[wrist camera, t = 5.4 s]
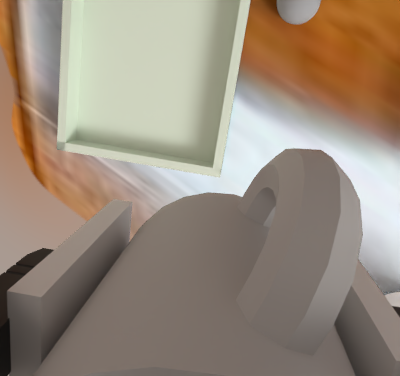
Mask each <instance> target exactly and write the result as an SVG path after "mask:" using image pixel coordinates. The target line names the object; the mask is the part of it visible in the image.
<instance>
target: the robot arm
mask: <svg viewBox="0 0 400 376" xmlns="http://www.w3.org/2000/svg"><path fill="white" fill-rule="evenodd" d="M131 213H132V202H129V201H122V200H116V199H113V200H112V201H111V202H110V203H108V204H107V205H106V206H105V207H104V208H103V209H101V210H100V211H99V212H98V213H97V214H96V215H94V216H93V217H92V218H91V219H90V220H89V221H88V222H86V223H85V224H84V225H83V226H82V227H81V228H79V229H78V230H77V231H76V232H75V233H74V234H73V235H71V236H70V237H69V238H68V239H67V240H66V241H64V242H63V243H62V244H61V245H60V246H58V248H56V249H55V250H51V249H45V248H42V249H40V250H37V251H35V252H32V253H30V254H27V255H26V256H25V257H23V258H22V259H21V260H20V261H18V262H17V263H16V265H13V266H12V267H11V268H9V269H8V270H7V271H6V273H5V272H4V273H3V274H1V275H0V376H8V374H9V376H33V374H34V373H35V372H36V370H37V369H38V368H39V366H40V365H41V363H42V362H43V361H44V359H45V358H46V357H47V355H48V354H49V352H50V351H51V350H52V348H53V347H54V346H55V344H56V343H57V341H58V340H59V339H60V337H61V336H62V334H63V333H64V332H65V330H66V329H67V328H68V326H69V325H70V323H71V322H72V321H73V319H74V318H75V317H76V315H77V314H78V312H79V311H80V310H81V308H82V307H83V306H84V304H85V303H86V301H87V300H88V299H89V297H90V296H91V295H92V293H93V292H94V290H95V289H96V288H97V286H98V285H99V284H100V282H101V281H102V279H103V278H104V277H105V275H106V274H107V273H108V271H109V270H110V268H111V267H112V266H113V264H114V263H115V261H116V260H117V259H118V257H119V256H120V255H121V253H122V252H123V250H124V249H125V248H126V246H127V245H128V244H129V239H130V226H131ZM334 324H335V326H336V329H337V331H338V334H339V336H340V338H341V341H342V343H343V346H344V348H345V351H346V353H347V356H348V358H349V360H350V363H351V365H352V368H353V370H354V373H355V375H356V376H400V307H395V306H391V304H390V303H389V302H388V300H387V299H386V297H385V296H384V295H383V293H382V292H381V290H380V289H379V288H378V286H377V285H376V283H375V282H374V281H373V279H372V278H371V276H370V275H369V274H368V272H367V271H366V269H365V268H364V267H363V265H362V264H361V263H360V261H359V260H357V265H356V270H355V275H354V280H353V283H352V285H351V287H350V290H349V292H348V294H347V296H346V298H345V301H344V303H343V305H342V307H341V309H340V312H339V314H338V316H337V318H336V320H335V323H334Z"/></svg>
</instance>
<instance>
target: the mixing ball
mask: <svg viewBox="0 0 400 376" xmlns="http://www.w3.org/2000/svg"><path fill="white" fill-rule="evenodd" d="M320 2H321V0H277V10H278V13H279V15H280V16H281V18H282V19H283V20H284V21H286V22H288V23H290V24H302V23H305V22H307V21H308V20H310V19H311V18H312V17H313V16H314V15H315V14H316V12H317V10H318V8H319V6H320Z"/></svg>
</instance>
